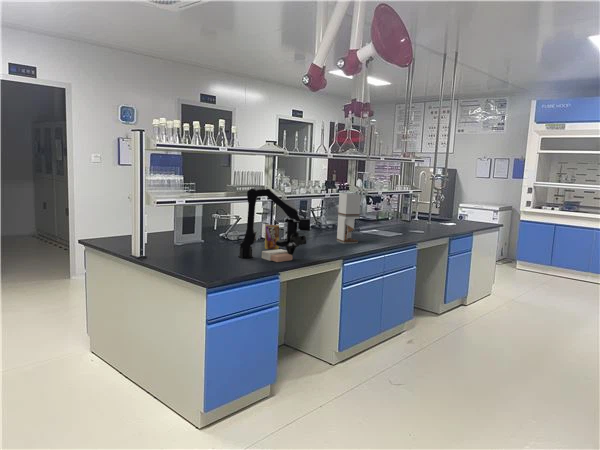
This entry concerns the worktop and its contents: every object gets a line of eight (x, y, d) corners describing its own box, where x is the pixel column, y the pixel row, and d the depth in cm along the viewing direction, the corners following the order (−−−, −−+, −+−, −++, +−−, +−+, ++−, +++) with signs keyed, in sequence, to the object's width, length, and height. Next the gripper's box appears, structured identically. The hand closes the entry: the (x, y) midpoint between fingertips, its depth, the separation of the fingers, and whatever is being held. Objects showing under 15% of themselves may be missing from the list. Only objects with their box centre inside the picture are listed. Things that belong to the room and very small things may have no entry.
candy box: (278, 248, 288) (279, 224, 286) (278, 249, 284) (279, 225, 282) (264, 247, 287) (265, 224, 285) (264, 248, 283) (265, 225, 281)
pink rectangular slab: (277, 262, 245) (277, 257, 245) (271, 260, 249) (271, 255, 249) (292, 259, 253) (292, 255, 252) (286, 258, 257) (286, 253, 256)
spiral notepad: (270, 260, 249) (270, 253, 249) (261, 258, 255) (261, 250, 255) (289, 258, 259) (289, 251, 258) (280, 255, 265) (280, 248, 264)
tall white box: (344, 243, 314) (346, 194, 309) (336, 241, 323) (339, 193, 319) (357, 243, 319) (360, 194, 314) (350, 240, 328) (353, 193, 323)
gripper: (288, 233, 241) (287, 261, 243) (313, 231, 254) (312, 257, 256) (275, 230, 249) (274, 257, 251) (300, 228, 262) (299, 254, 264)
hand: (290, 256), depth 255 cm, fingers closed
